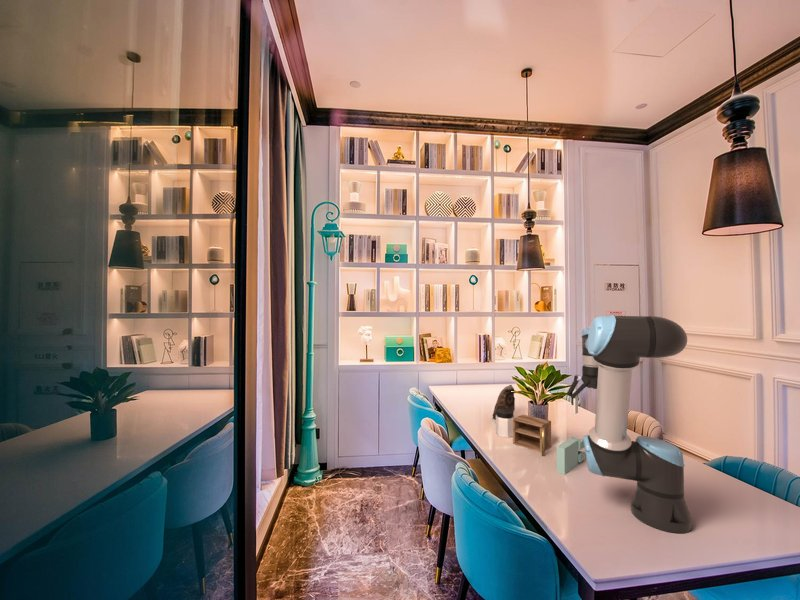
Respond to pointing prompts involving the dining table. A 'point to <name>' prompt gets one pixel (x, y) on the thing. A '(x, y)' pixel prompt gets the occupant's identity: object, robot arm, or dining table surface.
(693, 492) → the dining table surface
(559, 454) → the door
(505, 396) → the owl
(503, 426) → the jar
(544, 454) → the hinge pin
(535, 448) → the cabinet
